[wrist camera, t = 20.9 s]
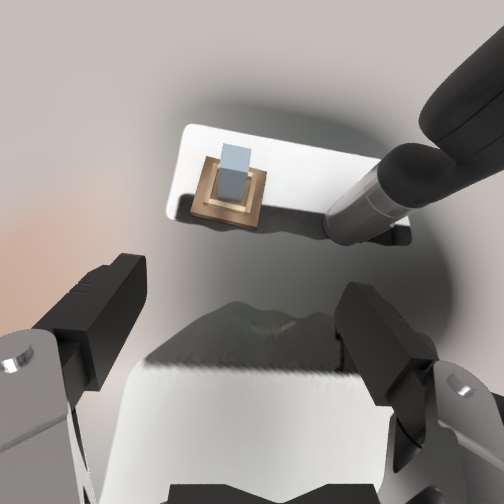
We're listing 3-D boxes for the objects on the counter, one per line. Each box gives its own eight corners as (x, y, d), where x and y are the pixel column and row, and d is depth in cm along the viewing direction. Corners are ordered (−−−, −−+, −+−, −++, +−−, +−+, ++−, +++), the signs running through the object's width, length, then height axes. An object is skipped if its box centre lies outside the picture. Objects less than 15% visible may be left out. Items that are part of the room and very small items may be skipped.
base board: (265, 175, 51) (268, 168, 48) (255, 229, 47) (258, 224, 44) (206, 160, 49) (206, 152, 47) (191, 215, 45) (189, 208, 43)
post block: (243, 183, 48) (251, 148, 38) (240, 203, 46) (248, 172, 37) (220, 179, 47) (223, 143, 38) (217, 199, 46) (219, 167, 36)
